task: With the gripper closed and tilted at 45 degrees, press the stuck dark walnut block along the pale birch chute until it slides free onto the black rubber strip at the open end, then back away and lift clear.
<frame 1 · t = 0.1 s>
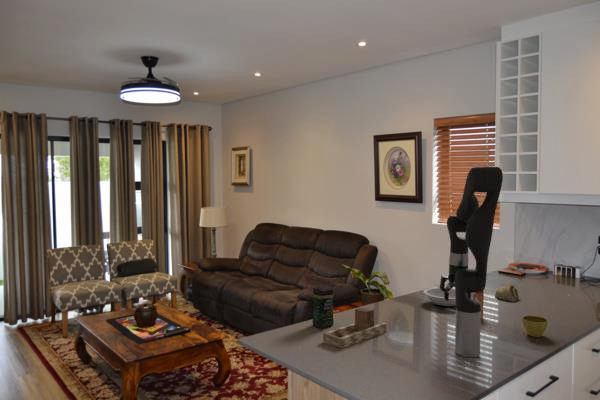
hand: (457, 300, 197), 17 cm above the worktop, tool pointing down, fingers open, 8 cm apart
coffee jar: (323, 325, 220), on the worktop
walnut block: (364, 320, 208), point 6 cm above the worktop, slide at 0.0 cm
flower pot: (534, 335, 206), on the worktop
pastry: (506, 299, 267), on the worktop
small box: (472, 317, 232), on the worktop
birch chute: (355, 336, 204), on the worktop
soup bowl: (446, 305, 254), on the worktop
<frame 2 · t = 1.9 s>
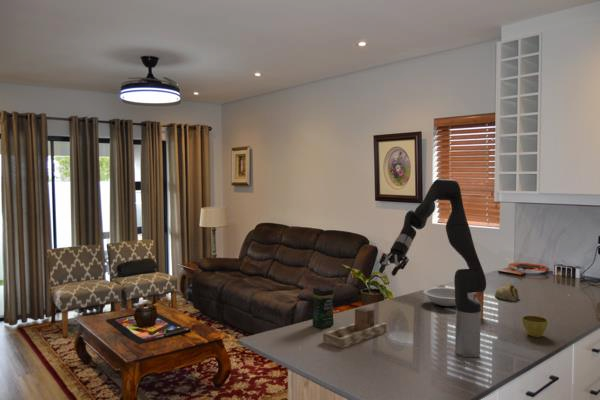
hand: (386, 273, 218), 24 cm above the worktop, tool tilted 45°, fingers open, 6 cm apart
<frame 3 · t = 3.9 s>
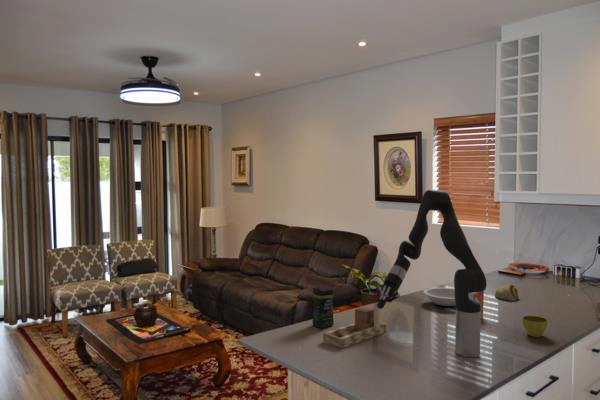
hand: (379, 307, 215), 9 cm above the worktop, tool tilted 45°, fingers closed
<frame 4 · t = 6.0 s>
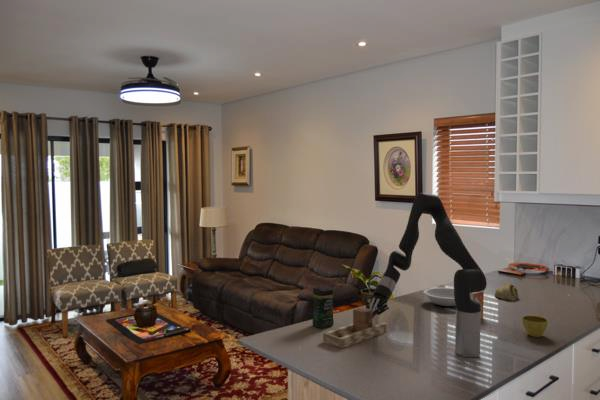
hand: (367, 320, 209), 5 cm above the worktop, tool tilted 45°, fingers closed
walnut block: (362, 320, 207), point 6 cm above the worktop, slide at 1.2 cm, touching gripper
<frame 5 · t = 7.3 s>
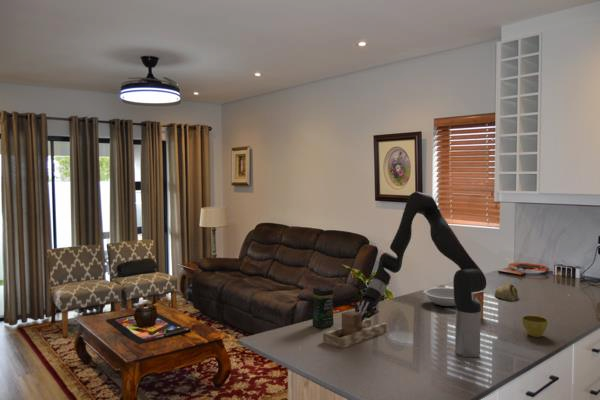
hand: (357, 324, 204), 5 cm above the worktop, tool tilted 45°, fingers closed
walnut block: (351, 324, 202), point 6 cm above the worktop, slide at 8.7 cm, touching gripper
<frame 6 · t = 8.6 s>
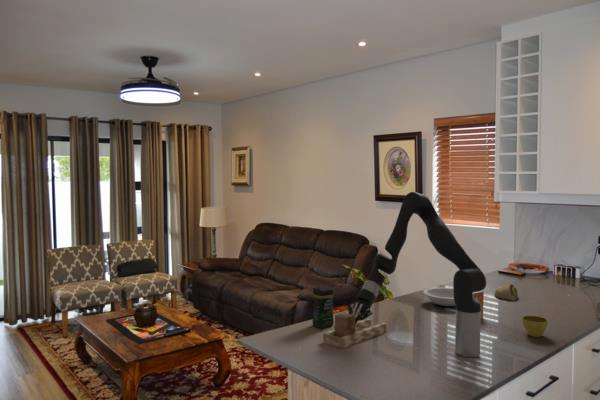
hand: (350, 326, 201), 5 cm above the worktop, tool tilted 45°, fingers closed
walnut block: (344, 326, 199), point 6 cm above the worktop, slide at 13.0 cm, touching gripper
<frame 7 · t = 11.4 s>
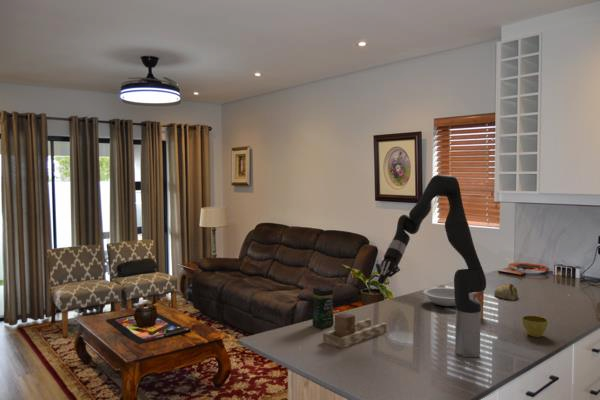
hand: (380, 283, 211), 22 cm above the worktop, tool tilted 45°, fingers closed
walnut block: (344, 326, 199), point 6 cm above the worktop, slide at 13.1 cm
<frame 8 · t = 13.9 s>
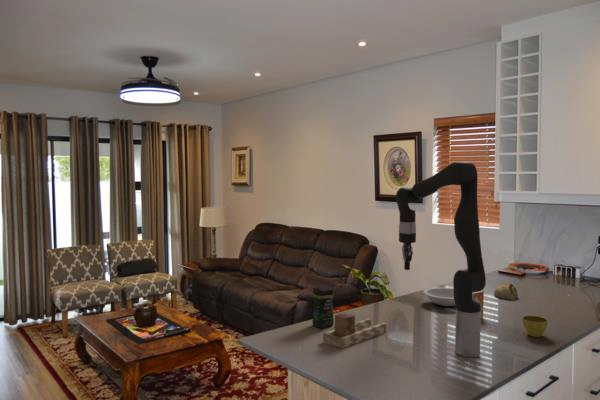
hand: (407, 269, 214), 27 cm above the worktop, tool pointing down, fingers closed
at the end: walnut block slide at 13.1 cm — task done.
